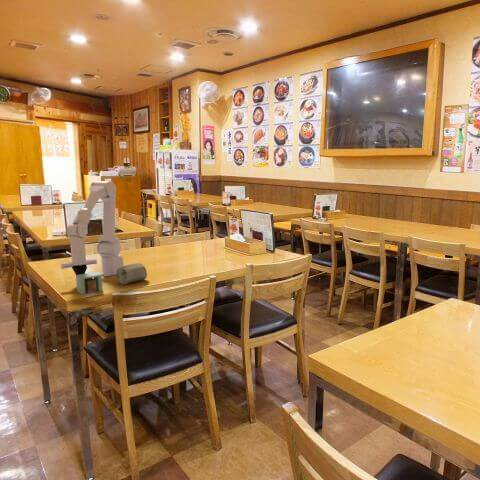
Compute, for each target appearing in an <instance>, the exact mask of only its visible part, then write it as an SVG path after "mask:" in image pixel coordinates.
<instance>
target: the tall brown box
mask: <svg viewBox="0 0 480 480" xmlns="http://www.w3.org/2000/svg"><path fill="white" fill-rule="evenodd" d="M84 282H85V293H87V294H92V293H97V290H96V280H95V279H94V277H93V278H87V279H84Z"/></svg>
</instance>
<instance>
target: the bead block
mask: <svg viewBox="0 0 480 480" xmlns="http://www.w3.org/2000/svg"><path fill="white" fill-rule="evenodd" d="M102 277H103V275H102V274H100V272H97V271H95V272H87V273H86V272H85V274H80V275H76V274H75V280H76V282H75V283H76V292H77V293H79V294H80V295H86V291H85V282H84V279H87V278H93V279H95V280H96V291H98V292H103V278H102Z"/></svg>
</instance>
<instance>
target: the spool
mask: <svg viewBox="0 0 480 480" xmlns="http://www.w3.org/2000/svg"><path fill="white" fill-rule="evenodd" d="M116 274H117V275H116V277H117V280H118V282H119V283H120V284H121V285H124V286H125V285H127V284H131V283H137V282H141V281H145V280H146V279H147V276H148V272H147V269H146V266H145V265H144V264H142V263H139V262H138V263H135V262H134V263H130V264H125V265H123V267H120V268H118V269H117V273H116Z"/></svg>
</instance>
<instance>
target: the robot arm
mask: <svg viewBox="0 0 480 480" xmlns="http://www.w3.org/2000/svg"><path fill="white" fill-rule="evenodd" d="M88 189H89V194H88V197H87V199H86V201H85V204H84V206H83V208H80V209H79V210H78V211H77V214H76V216H75V218H74V220H73V221H72V223H70V224H69V225H68V226H67V227H66V231H65V233H66V235H67V237H68V240H69V242H70V243H69V244H70V255H71V261H68V262H64V263H60V269H62V270H65V269H68V268H71V269H72V270H73V272H74V275H75V276H76V275H80V274H86V271H87V269H88V266H91V265H98V262H97V261H98V260H97V259H96V258H93V259H87V257H86V255H87V254H86V243H85V242H86V241H85V237H86V235H88V225H89V223H90V221H91V220H92V219H91V218H92V216H93V214H92V211H93V209H94V208H95V206H96V205H97V203H98V202H99V200H101V201H102V202H103V208H102V209H103V211H102V213H103V216H102V219H103V220H102V235H101V236H100V237H99V238H98V240H97V241H98V242H97V243H98V244H97V246H96V251H97V253H98V254H99V256H100V257H101V272H99V273H100V274H101V275H102V277H103V276H104V277H110V276H117V274H116V273H117V269H118V268H120V267H123V266H124V259H123V256H122V254H120V252H121V250H122V247H121V243H120V241H121V240H120V238H118V237H117V236H116V229H115V228H116V207H117V206H116V204H117V202H116V201H117V200H116V199H117V186H116V185H115V183H114V182H113V181H111V180H108V181H105V180H104V181H100V180H99V181H98V180H94V181H92V182H91V184H90V186H89V188H88Z"/></svg>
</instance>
